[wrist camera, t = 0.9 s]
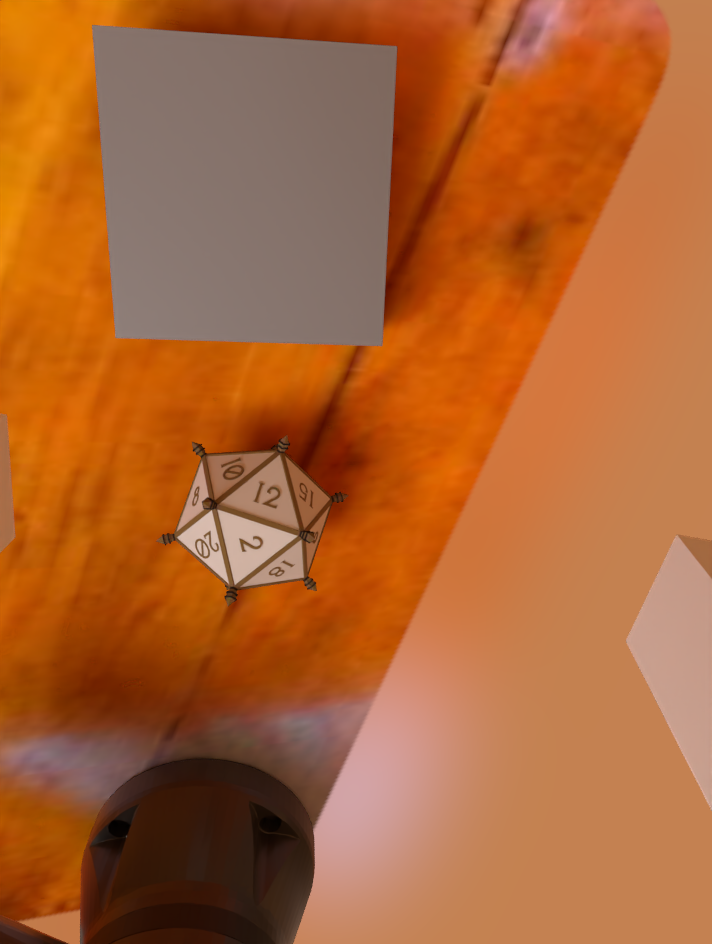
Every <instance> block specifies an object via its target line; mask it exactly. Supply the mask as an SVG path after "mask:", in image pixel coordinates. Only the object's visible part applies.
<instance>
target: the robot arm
mask: <svg viewBox="0 0 712 944" xmlns="http://www.w3.org/2000/svg"><path fill="white" fill-rule="evenodd" d="M14 538H15V526H14V512H13V497H12V483H11V468H10V454H9V439H8V425H7V415H5V414H0V552H1V551H2V550H3V549H4V548H5V547H6V546H7V545H8V544H9V543H10V542H11V541H12V540H13V539H14ZM626 643H627V644H628V647H629V648H630V650H631V652H632V654H633V656H634V658H635V660H636V662H637V664H638V666H639V668H640V670H641V672H642V674H643V676H644V678H645V680H646V682H647V684H648V686H649V688H650V690H651V692H652V694H653V696H654V698H655V700H656V702H657V704H658V706H659V707H660V710H661V712H662V714H663V716H664V717H665V719H666V721H667V723H668V725H669V727H670V729H671V731H672V733H673V735H674V737H675V739H676V741H677V743H678V745H679V747H680V749H681V751H682V753H683V755H684V757H685V759H686V761H687V763H688V765H689V767H690V769H691V771H692V773H693V775H694V776H695V779H696V781H697V783H698V784H699V786H700V788H701V791H702V792H703V794H704V796H705V798H706V800H707V802H708V804H709V806H710V808H711V810H712V541H710V540H704V539H699V538H693V537H688V536H682V535H676V537H675V539H674V541H673V543H672V545H671V547H670V549H669V551H668V553H667V556H666V558H665V560H664V562H663V564H662V566H661V568H660V570H659V573H658V575H657V577H656V579H655V581H654V583H653V585H652V587H651V589H650V591H649V593H648V596H647V598H646V600H645V602H644V604H643V606H642V608H641V610H640V612H639V614H638V616H637V619H636V621H635V623H634V625H633V627H632V629H631V631H630V633H629V635H628V637H627V639H626ZM314 859H315V858H314V834H313V829H312V825H311V822H310V819H309V817H308V814H307V812H306V811H305V809H304V807H303V806H302V804H301V803H300V801H299V800H298V799H297V798H296V796H295V795H294V794H293V793H292V792H291V791H290V790H289V789H288V788H286V787H285V786H284V785H283V784H281V783H280V782H279V781H277V780H276V779H274V778H273V777H271V776H269V775H267V774H265V773H263V772H261V771H259V770H257V769H254V768H252V767H249V766H246V765H242V764H239V763H235V762H229V761H223V760H212V759H195V760H184V761H178V762H173V763H169V764H165V765H162V766H158V767H156V768H153V769H150V770H148V771H146V772H144V773H142V774H140V775H138V776H136V777H134V778H133V779H131V780H130V781H128V782H127V783H125V784H124V785H123V786H121V787H120V788H119V789H118V790H117V791H116V792H115V793H114V794H113V795H112V796H111V797H110V798H109V799H108V800H107V802H106V803H105V804H104V806H103V807H102V809H101V811H100V812H99V814H98V816H97V818H96V821H95V823H94V826H93V829H92V831H91V834H90V837H89V839H88V842H87V845H86V847H85V850H84V855H83V859H82V865H81V903H80V944H293V942H294V939H295V936H296V933H297V930H298V927H299V925H300V922H301V919H302V916H303V913H304V910H305V907H306V904H307V901H308V898H309V895H310V892H311V888H312V883H313V878H314V868H315V867H314V866H315V860H314ZM0 944H68V943H66V942H63V941H61V940H59V939H56V938H54V937H51V936H49V935H47V934H45V933H42V932H40V931H38V930H35V929H33V928H30V927H28V926H26V925H23V924H21V923H19V922H17V921H14V920H12V919H10V918H7V917H5V916H3V915H0Z"/></svg>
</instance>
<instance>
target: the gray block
mask: <svg viewBox="0 0 712 944" xmlns="http://www.w3.org/2000/svg"><path fill="white" fill-rule="evenodd" d="M92 29H93V42H94V56H95V69H96V82H97V96H98V109H99V122H100V136H101V149H102V162H103V176H104V189H105V202H106V216H107V229H108V242H109V255H110V269H111V282H112V295H113V309H114V322H115V335H116V338H135V339H168V340H201V341H234V342H267V343H300V344H333V345H366V346H382V343H383V323H384V303H385V283H386V262H387V242H388V222H389V202H390V182H391V162H392V142H393V122H394V102H395V82H396V62H397V46H386V45H372V44H357V43H343V42H328V41H314V40H300V39H285V38H271V37H256V36H242V35H228V34H213V33H199V32H184V31H170V30H156V29H141V28H127V27H112V26H98V25H92Z"/></svg>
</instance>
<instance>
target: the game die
mask: <svg viewBox="0 0 712 944" xmlns="http://www.w3.org/2000/svg"><path fill="white" fill-rule="evenodd" d="M278 442H279V444H277V445H274V446H273V447H272V448H271V449H272V450H258V451H242V452H226V453H210V454H207V453H205V450H204V449H205V448H203V447H202V446H201V445H202V444H197V443H194V442H192V446H193V451H195V452H196V455H199V456H200V457H201V460H200V463H199V466H198V469H197V471H196V474H195V477H194V480H193V483H192V485H191V488H190V491H189V494H188V496H187V499H186V502H185V505H184V508H183V510H182V513H181V516H180V519H179V521H178V524H177V527H176V530H175V533H174V534H169V533H168V534H167V535H164V534H163V535H162V537H160V538H159V539H158V540H157V542H160V543H163V544H165V545H166V544H167V543H170V544H171V542H172V541H177V542H178V543H179V544H180V545H182V546H183V547H184V548H185V549H186V550H187V551H188V552H189V553H191V554H192V555H193V556H194V557H195V558H196V559H197V560H198V561H200V562H201V563H202V564H203V565H204V566H205V567H206V568H207V569H209V570H210V571H211V572H212V573H213V574H214V575H215V576H216V577H218V578H219V579H220V580H221V581H222V582H223V583H224V584H225V587H227V590H229V591H227V592H226V593H227V595H226V596H225V600H226V601H227V605H228V606H229V605H230V604H231V603H233V602H234V601H236V600H237V599H236V596H238V594H237V590H242V589H249V588H255V587H261V586H268V585H274V584H281V583H287V582H294V581H300V580H303V581H304V583H305V586H307V589H311V590H314V591H317V589H316V582H314V581H313V579H312V578H309V577H308V574H309V571H310V568H311V565H312V562H313V560H314V557H315V554H316V551H317V548H318V545H319V542H320V539H321V536H322V533H323V530H324V527H325V524H326V521H327V518H328V515H329V512H330V509H331V506H332V503H333V502H337V503H339V502H340V501H341V502H343V500H344V499H345V498H346V497H348V496H349V495H346V494H343V493H341V492H339V493H335V495H333V496H330V495H329V494H328V493H327V492H326V491H325V490H324V489H323V488H322V487H321V486H320V485H319V484H318V483H317V482H316V481H314V480H313V479H312V478H311V477H310V476H309V475H308V474H307V473H306V472H305V471H304V470H303V469H302V468H301V467H300V466H299V465H298V464H297V463H296V462H295V461H293V460H292V459H291V458H290V457H289V456H288V455H287V454H286V453H285V452H284V451H285V450H286V449H288V445H290V443H289V441H288V437H287V435H286V436H285V437H284V438H283V439H282V438H281V439H280V440H279V441H278Z"/></svg>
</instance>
